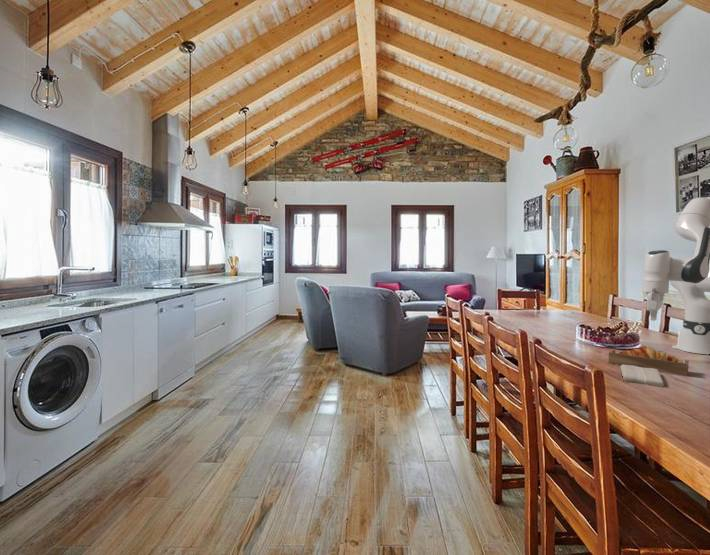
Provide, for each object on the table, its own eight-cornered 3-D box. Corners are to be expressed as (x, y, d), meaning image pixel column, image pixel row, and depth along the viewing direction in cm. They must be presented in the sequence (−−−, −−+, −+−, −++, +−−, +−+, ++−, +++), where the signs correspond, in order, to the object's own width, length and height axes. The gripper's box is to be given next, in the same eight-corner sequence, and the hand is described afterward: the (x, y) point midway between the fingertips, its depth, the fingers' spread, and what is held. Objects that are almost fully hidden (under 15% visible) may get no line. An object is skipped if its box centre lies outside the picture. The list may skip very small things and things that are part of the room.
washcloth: (657, 375, 144) (657, 367, 144) (665, 389, 129) (665, 380, 128) (619, 369, 150) (619, 362, 150) (622, 382, 135) (622, 374, 135)
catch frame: (612, 359, 163) (612, 349, 163) (688, 371, 146) (688, 360, 146) (608, 363, 157) (608, 352, 157) (687, 376, 141) (687, 364, 140)
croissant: (680, 373, 156) (680, 354, 158) (685, 367, 148) (685, 347, 151) (618, 364, 167) (618, 346, 170) (619, 358, 160) (620, 339, 162)
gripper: (662, 289, 154) (660, 323, 154) (666, 287, 169) (664, 318, 169) (643, 288, 158) (641, 321, 159) (648, 286, 173) (646, 317, 174)
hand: (653, 320), depth 164 cm, fingers closed
